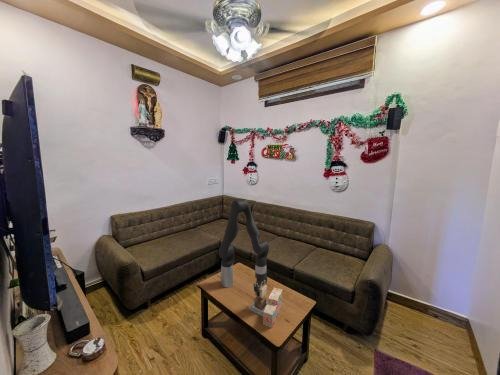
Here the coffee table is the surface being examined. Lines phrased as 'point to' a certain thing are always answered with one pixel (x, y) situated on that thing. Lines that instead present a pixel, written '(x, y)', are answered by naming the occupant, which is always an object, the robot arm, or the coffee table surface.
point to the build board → (257, 309)
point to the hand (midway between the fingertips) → (260, 292)
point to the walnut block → (260, 302)
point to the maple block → (262, 291)
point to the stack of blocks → (272, 307)
